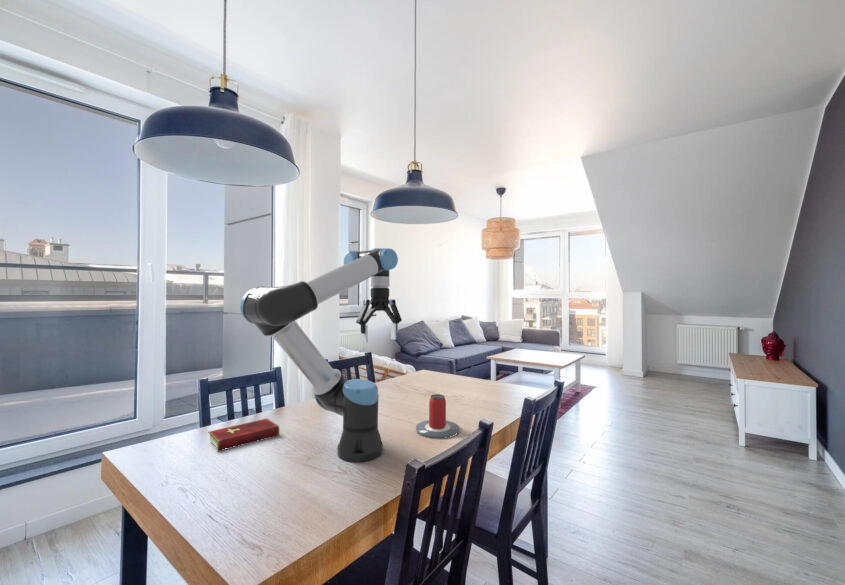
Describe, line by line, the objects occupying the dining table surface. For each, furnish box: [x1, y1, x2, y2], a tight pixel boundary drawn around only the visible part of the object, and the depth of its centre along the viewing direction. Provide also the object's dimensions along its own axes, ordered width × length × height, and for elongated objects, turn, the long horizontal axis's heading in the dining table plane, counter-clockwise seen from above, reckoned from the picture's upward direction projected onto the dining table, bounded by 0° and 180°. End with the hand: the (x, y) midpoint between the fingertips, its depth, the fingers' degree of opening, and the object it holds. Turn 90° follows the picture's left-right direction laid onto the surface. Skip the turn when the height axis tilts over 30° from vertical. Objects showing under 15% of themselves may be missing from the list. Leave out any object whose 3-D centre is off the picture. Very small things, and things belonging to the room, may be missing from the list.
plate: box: [415, 419, 460, 439], centre depth 145 cm, size 17×17×1 cm
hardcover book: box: [207, 417, 280, 451], centre depth 136 cm, size 12×21×4 cm, turn 133°
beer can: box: [428, 393, 447, 429], centre depth 145 cm, size 7×7×12 cm
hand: (379, 340), depth 148 cm, fingers open, 13 cm apart
